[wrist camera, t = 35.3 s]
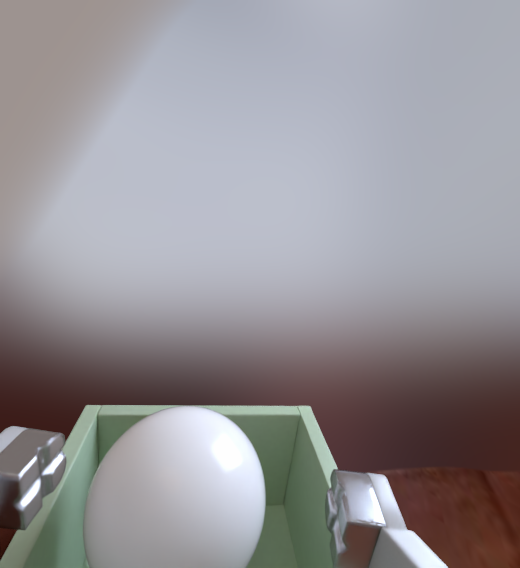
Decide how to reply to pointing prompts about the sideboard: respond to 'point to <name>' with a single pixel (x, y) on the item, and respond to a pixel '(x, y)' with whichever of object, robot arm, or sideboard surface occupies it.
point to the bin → (276, 469)
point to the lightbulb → (176, 495)
